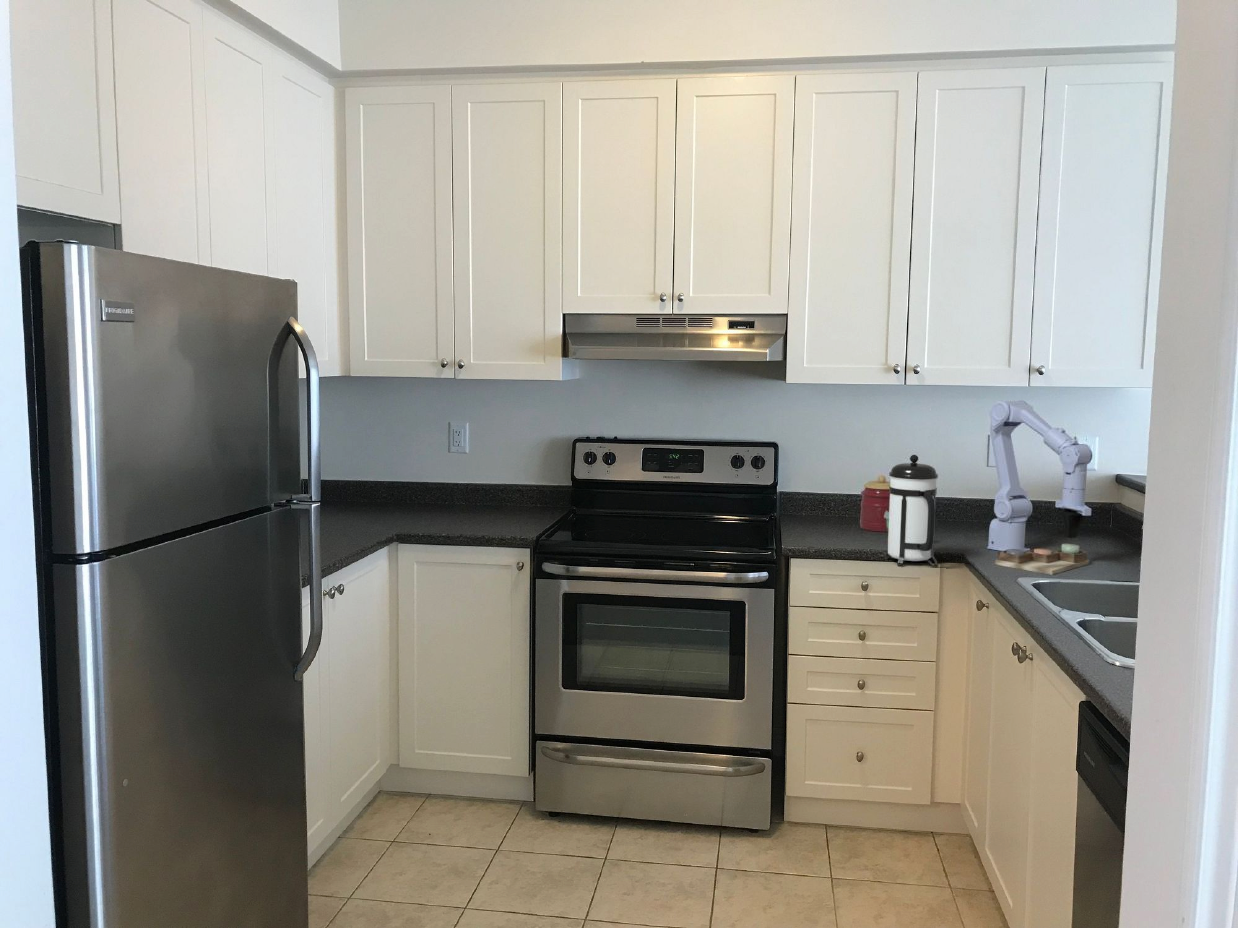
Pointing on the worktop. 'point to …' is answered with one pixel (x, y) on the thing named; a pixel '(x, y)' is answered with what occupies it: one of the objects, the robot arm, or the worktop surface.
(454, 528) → the worktop surface
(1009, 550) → the charcoal button
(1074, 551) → the sage button
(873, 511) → the canister
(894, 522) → the coffee press
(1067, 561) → the button panel
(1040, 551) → the terracotta button
